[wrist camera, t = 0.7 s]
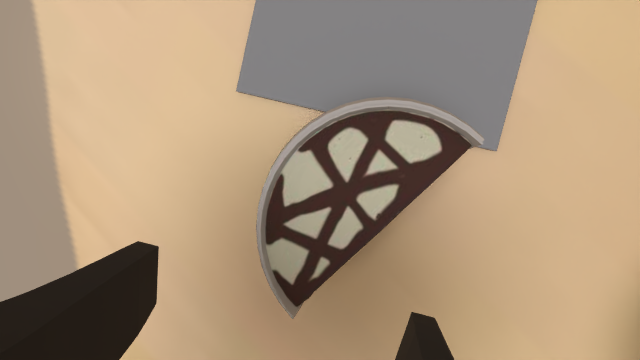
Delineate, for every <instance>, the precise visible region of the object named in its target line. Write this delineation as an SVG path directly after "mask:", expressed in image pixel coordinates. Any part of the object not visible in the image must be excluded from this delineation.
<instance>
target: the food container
mask: <svg viewBox="0 0 640 360" xmlns="http://www.w3.org/2000/svg"><path fill="white" fill-rule="evenodd" d="M484 140H485V139H484V138H483V136H482V135H481V134H479V133H478V132H477V131H476V130H475V129H473V128H472V127H471V126H470V125H469V124H468V123H466V122H464V121H463V120H461V119H460V118H458V117H456V116H455V115H453V114H452V113H450V112H448V111H446V110H443V109H441V108H438V107H436V106H434V105H431V104H429V103H425V102H421V101H416V100H412V99H408V98H396V97H378V98H366V99H362V100H358V101H354V102H349V103H346V104H343V105H341V106H338V107H336V108H333V109H331V110H329V111H327V112H325V113H323V114H322V115H320V116H318V117H317V118H315V119H314V120H312V121H310V122H309V123H308V124H307V125H306V126H304V127H303V128H302V129H301V130H300V131H299V132H297V133H296V134H295V135H294V136H293V137H292V139H291V140H290V141H289V142H288V143H287V144H286V146H285V147H284V148H283V149H282V151H281V152H280V154H279V155H278V157H277V159H276V160H275V162H274V164H273V165H272V167H271V170H270V172H269V174H268V177H267V179H266V182H265V184H264V187H263V190H262V194H261V198H260V202H259V206H258V214H257V226H256V230H257V244H258V251H259V255H260V260H261V264H262V268H263V270H264V273H265V276H266V278H267V281H268V283H269V286H270V287H271V289H272V291H273V293H274V294H275V296H276V298H277V299H278V301H279V303H280V304H281V305H282V307H283V308H284V309H285V310H286V312H287V313H288V314H289V315H290V317H291V318H292V319H293V318H294V317H295V315H296V314H297V312H298V311H299V309H300V307H301V306H302V304H303V302H304V301H305V300H307V299H308V298H309V297H310V296H311V295H312V294H313V292H314V291H315V290H316V289H318V288H319V287H320V286H321V285H322V284H323V283H324V282H325V281H326V280H327V279H328V278H329V277H331V276H332V275H333V274H334V273H335V272H336V271H337V270H338V269H339V268H340V267H342V266H343V265H344V264H345V263H346V262H347V261H348V260H349V259H350V258H351V257H352V256H353V255H354V254H356V253H357V252H358V251H359V250H360V249H361V248H362V247H363V246H365V245H366V244H367V243H368V242H369V241H370V240H371V239H372V238H373V237H375V236H376V235H377V234H378V233H379V232H380V231H381V230H382V229H383V228H385V227H386V226H387V225H388V224H389V223H390V222H391V221H392V220H393V219H394V218H395V217H396V216H397V215H398V214H399V213H400V212H401V211H402V210H403V209H404V208H406V207H407V206H408V205H409V204H410V203H411V202H412V201H413V200H414V199H415V198H416V197H418V196H419V195H420V194H421V193H422V192H423V191H424V190H425V189H426V188H427V187H428V186H429V185H431V184H432V183H433V182H434V181H435V180H436V179H437V178H438V177H439V176H440V175H441V174H442V173H444V172H445V171H446V170H447V169H448V168H449V167H450V166H451V165H452V164H453V163H454V162H455V161H456V160H457V159H458V158H460V157H461V156H462V155H463V154H464V153H465V152H466V151H467V150H468V149H470V148H473V147H476V146H480V145H482V144H483V141H484Z"/></svg>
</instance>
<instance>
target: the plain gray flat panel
mask: <svg viewBox="0 0 640 360" xmlns="http://www.w3.org/2000/svg"><path fill="white" fill-rule="evenodd" d="M536 3H537V0H256V2H255V7H254V12H253V16H252V21H251V25H250V30H249V35H248V39H247V44H246V48H245V53H244V58H243V62H242V67H241V71H240V76H239V81H238V85H237V90H236V91H237V92H241V93H245V94H250V95H254V96H258V97H263V98H267V99H271V100H276V101H280V102H284V103H289V104H293V105H297V106H302V107H306V108H310V109H315V110H319V111H323V112H327V111H329V110H331V109H333V108H336V107H338V106H341V105H343V104H346V103H349V102H354V101H358V100H362V99H366V98H378V97H396V98H408V99H412V100H416V101H421V102H425V103H429V104H431V105H434V106H436V107H438V108H441V109H443V110H446V111H448V112H450V113H452V114H453V115H455V116H456V117H458V118H460V119H461V120H463V121H464V122H466V123H468V124H469V125H470V126H471V127H472V128H473V129H475V130H476V131H477V132H478V133H479V134H481V135H482V136H483V138H484V139H485V140H484V141H483V144H482V145H480V146H476V147H480V148H484V149H488V150H493V151H497V148H498V144H499V140H500V137H501V133H502V129H503V126H504V122H505V118H506V114H507V111H508V107H509V103H510V100H511V96H512V92H513V88H514V85H515V81H516V77H517V74H518V70H519V66H520V63H521V59H522V55H523V51H524V48H525V44H526V40H527V37H528V33H529V29H530V26H531V22H532V18H533V14H534V11H535V7H536Z"/></svg>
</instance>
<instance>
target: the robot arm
mask: <svg viewBox="0 0 640 360" xmlns="http://www.w3.org/2000/svg"><path fill="white" fill-rule="evenodd" d="M158 249H159V247H158V246H155V245H151V244H147V243H143V242H139V241H138V242H135V243H133V244H131V245H129V246H127V247H125V248H122V249H120V250H118V251H116V252H114V253H112V254H110V255H108V256H106V257H104V258H102V259H100V260H98V261H96V262H94V263H92V264H90V265H88V266H85V267H83V268H81V269H79V270H77V271H75V272H73V273H71V274H69V275H66V276H64V277H62V278H59V279H57V280H55V281H52V282H50V283H48V284H46V285H43V286H41V287H38V288H36V289H34V290H31V291H29V292H26V293H24V294H21V295H19V296H16V297H13V298H10V299H8V300H5V301H2V302H0V360H119V359H120V358H121V357H122V355H123V354H124V353H125V352H126V350H127V349H128V348H129V346H130V345H131V344H132V342H133V341H134V340H135V338H136V337H137V336H138V334H139V332H140V331H141V329H142V328H143V326H144V324H145V323H146V321H147V319H148V317H149V316H150V314H151V312H152V310H153V308H154V307H155V305H156V300H157V274H158ZM395 360H454V358H453V356H452V354H451V352H450V350H449V348H448V345H447V343H446V341H445V339H444V337H443V335H442V332H441V330H440V328H439V326H438V323H437V321H436V320H435V318H433V317H429V316H426V315H422V314H418V313H414V312H412V313H411V316H410V318H409V321H408V324H407V327H406V330H405V333H404V336H403V339H402V341H401V344H400V347H399V350H398V353H397V356H396V359H395Z"/></svg>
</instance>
